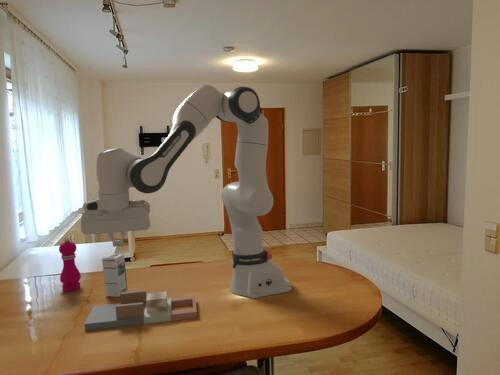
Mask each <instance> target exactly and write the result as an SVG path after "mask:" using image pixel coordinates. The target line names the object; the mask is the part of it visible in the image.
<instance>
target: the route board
mask: <svg viewBox="0 0 500 375" xmlns="http://www.w3.org/2000/svg"><path fill="white" fill-rule="evenodd" d="M146 299H147V290H144V289H143V290H133V291H127V292H122V293H120V302H119V303H113V304H112V303H111V304H102V305H93V307H92V308H91V311H90V312H89V314H88V316H87V318H86V320H85V322H84V331H93V330H101V329H109V328H117V327H118V328H120V327H128V326H135V325H136V326H137V325H146V324H154V323H162V322H163V323H165V322H171V321H172V322H173V321H179V320H180V321H181V320H182V321H183V320H190V319H197V318H198V313H197V312H198V310H197V302H196V295H189V296H181V297H180V296H178V297H170V298H167V311H158V312H149V313H147V304H146ZM181 306H182V307H183V306H184V307H185V306H192V308H189V309H179V310H172V308H174V307H175V308H176V307H181Z"/></svg>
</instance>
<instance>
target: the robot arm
mask: <svg viewBox="0 0 500 375" xmlns="http://www.w3.org/2000/svg"><path fill="white" fill-rule="evenodd" d="M215 118H216V119H217V120H219V121H222V122H224V123H235V125H236V126H237V127H236V128H237V140H236V148H235V156H234V167H235V169H236V170H237V175H238V176H237V177H238V181H233V182H230V183H227V184H226V185H225V186H224V187H223V188H222V191H221V200H222V203H223V205H224V206H225V209H226V212H227V216H228V220H229V224H230V229H231V237H232V238H231V240H232V251H231V266H232V276H231V278H232V279H231V283H230V287H229V290H230V292H231V293H232V294H235V295H237V296H243V297H248V298H251V299H257V298H263V297H268V296H273V295H277V294H283V293H288V292H291V291H292V289H293V286H292V283H291V282H290V281H289V280H288V279H287V278H286V277H285V273H284V271H283V269H282V268H281V267H280V266H279V265H278V264H276V263H275V262H274V261H271V259H273V254H272V253H271V252H269V251H268V250H267V249H264V238H263V237H264V232H263V228H262V225H261V224H260V222H259V220H258V217H261V216H266V215H267V214H269V213H270V212H271V210H272V208H273V206H274V197H273V194H272V192H271V190H270V188H269V184H268V179H267V171H266V170H267V169H266V168H267V158H268V157H267V155H268V146H269V122H268V121H269V120H268V118H267V117H266V116H265V115H264V114H262V108H261V101H260V97H259V95H258V93H257V91H256V90H254V89H253V88H251V87H248V86H238V87H233V88H230V89H228V90H226V91H223V92H220V91H219V89H217V88H216V87H215V86H213V85H210V84H203V85H200V86H199V87H198V88H196V89H195V90H194V91H192V92H191V93H190V94H189V95H188V96H187V97H186V98H185V99H183V101H182V102H181V103H180V104H179V105H178V107H177V108H176V109H175V111H174V112H173V114H172V115H171V117H170V127H171V128H170V132H169V134H168V135H167V137H166V138H165V139H164V140H163V141H162V143H161V144H160V145H159V146H158V148H157V149H156V150H155V151H154V152H153V153H152V154H151V155H150V156H147V157H146V158H144V157H141V156H139V155H138V156H137V155H135V154H132V153H130V152H129V151H126V150H125V149H123V148H120V147H116V148H111V149H107V150H103V151H101V152H100V153H99V154H98V155H97V157H96V163H95V164H96V167H95V169H96V180H97V183H98V194H97V196H98V197H95V198H93V199H91V200H89V201H87V202H85V203H83V205H82V209H83V211H84V212H82V214H81V217H80V231H81V233H82V234H83V235H87V236H88V235H94V234H95V235H97V234H107V236H108V237H107V238H109V240H110V241H111V242H112V247H123V246H124V239H125V237H126V235H127V232H138V231H148V230H149V229H150V227H151V219H150V212H151V205H150V203H149V202H148V201H145V200H144V199H142V200H130V188H134V189H135V190H136V191H138V192H140V193H143V194H153V193H156V192H158V191H159V190H161V189H162V188H163V186H164V185H165V183H166V182H167V181H166V180H167V176H168V174H169V171H170V169H171V167H172V166H173V165H174V164H175V163H176V161H177V160H178V158H179V157H180V156H181V155H182V153H183V152H184V151H185V149H186V148H188V146H189V144H191V143H192V141H194V140H195V139H196V138H197V137H198V136H199V135H201V133H203V131H204V130H205V129H206V128H208V126H209V125H210V123H212V121H213V120H214V119H215ZM115 233H120V236H121V237H120V239H116V238H115V237H114V234H115Z"/></svg>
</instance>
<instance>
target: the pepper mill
mask: <svg viewBox="0 0 500 375" xmlns="http://www.w3.org/2000/svg"><path fill="white" fill-rule="evenodd" d="M58 251H59V253H60V254H61V256H60V257H61V258H60V259H61V260H62V262H63V267H62V270H61V273H60V275H59V281H60V283H61V284H62V285H61V288H62V291H63V292H66V293H69V292H75V291H78V290H79V289H80V288H81V283H80V281H81V278H82V275H81V272H80V271H79V269H78V267H77V264H76V261H75V258H76V257H77V256H76V254H77V253H76V251H77V245H76V244H75V242H74V241H70V238H69V237H65V238H64V242H62V243H61V244H60V245H59V248H58Z"/></svg>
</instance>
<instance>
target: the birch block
mask: <svg viewBox="0 0 500 375" xmlns="http://www.w3.org/2000/svg"><path fill="white" fill-rule="evenodd" d="M167 294H168V293H167V291H166V290H165V291H156V292H147V293H146V304H147V313H149V312H158V311H167V299H168V295H167Z"/></svg>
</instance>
